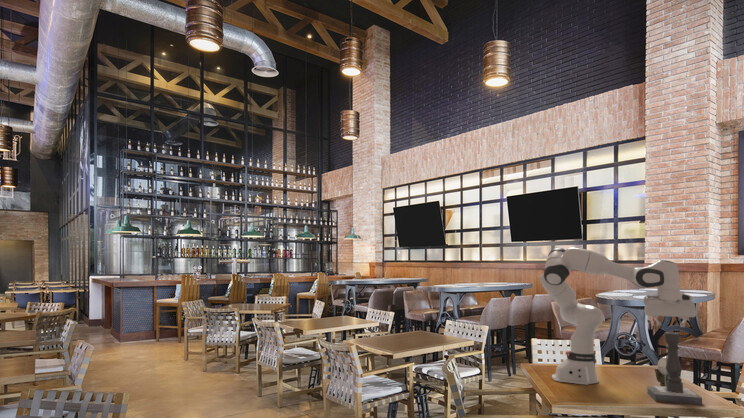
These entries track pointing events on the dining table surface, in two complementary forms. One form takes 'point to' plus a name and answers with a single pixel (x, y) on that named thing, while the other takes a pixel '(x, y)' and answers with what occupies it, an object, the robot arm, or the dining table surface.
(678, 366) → the candle holder
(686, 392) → the scale pan
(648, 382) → the dining table surface
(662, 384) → the cup
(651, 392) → the scale base
